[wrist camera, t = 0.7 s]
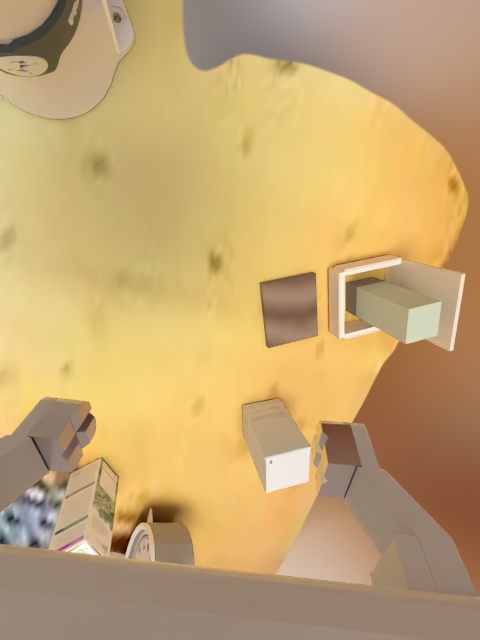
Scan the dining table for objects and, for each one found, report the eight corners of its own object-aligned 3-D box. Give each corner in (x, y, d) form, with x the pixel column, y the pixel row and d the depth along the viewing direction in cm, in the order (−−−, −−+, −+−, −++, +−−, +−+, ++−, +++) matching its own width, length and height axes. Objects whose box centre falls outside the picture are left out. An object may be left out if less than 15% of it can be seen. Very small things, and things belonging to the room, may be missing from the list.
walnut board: (259, 283, 47) (261, 284, 46) (312, 272, 49) (315, 273, 48) (266, 345, 51) (268, 348, 51) (315, 333, 53) (317, 335, 52)
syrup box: (69, 472, 50) (39, 567, 37) (102, 455, 51) (84, 543, 38) (89, 492, 53) (67, 588, 40) (120, 476, 53) (110, 565, 40)
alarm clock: (148, 492, 56) (145, 651, 36) (192, 498, 59) (211, 646, 40) (118, 555, 60) (100, 731, 40) (161, 557, 63) (163, 720, 43)
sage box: (346, 282, 51) (408, 309, 39) (372, 277, 52) (441, 301, 39) (345, 310, 53) (405, 344, 40) (371, 304, 54) (437, 335, 41)
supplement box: (242, 436, 57) (264, 495, 46) (241, 403, 55) (264, 457, 43) (279, 429, 59) (309, 483, 48) (280, 396, 56) (312, 446, 45)
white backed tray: (326, 266, 49) (386, 288, 37) (389, 253, 51) (465, 270, 39) (328, 332, 54) (381, 373, 41) (385, 318, 56) (452, 352, 43)
